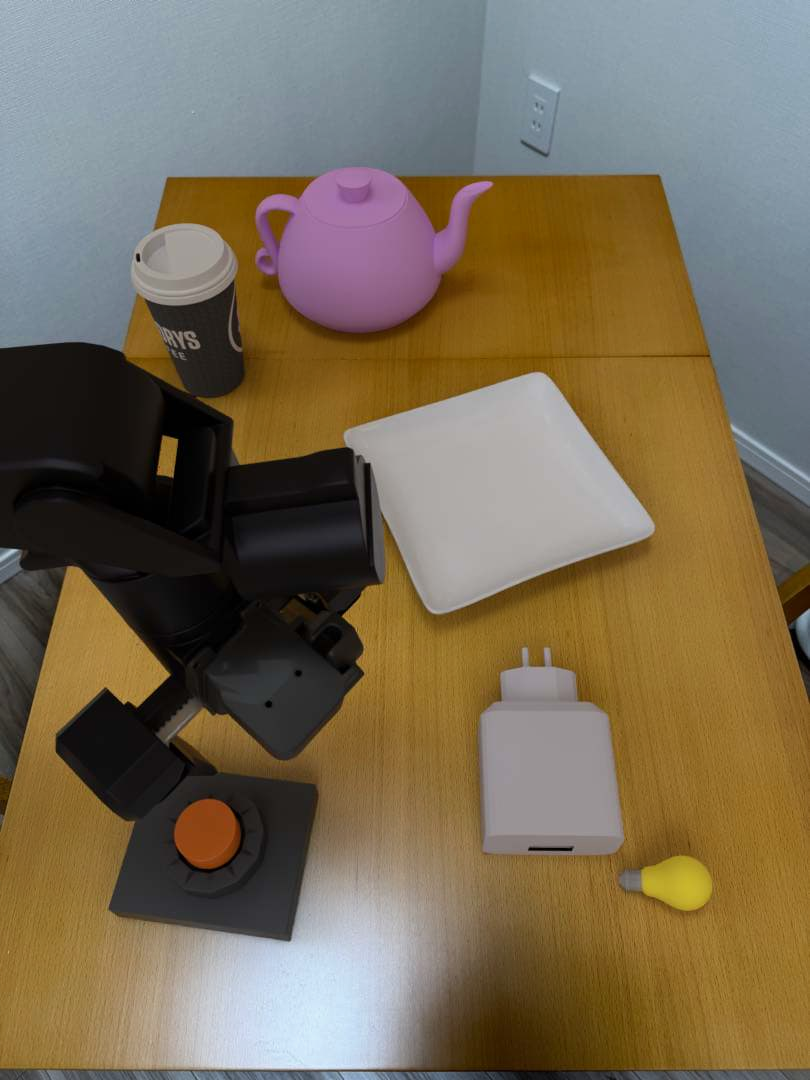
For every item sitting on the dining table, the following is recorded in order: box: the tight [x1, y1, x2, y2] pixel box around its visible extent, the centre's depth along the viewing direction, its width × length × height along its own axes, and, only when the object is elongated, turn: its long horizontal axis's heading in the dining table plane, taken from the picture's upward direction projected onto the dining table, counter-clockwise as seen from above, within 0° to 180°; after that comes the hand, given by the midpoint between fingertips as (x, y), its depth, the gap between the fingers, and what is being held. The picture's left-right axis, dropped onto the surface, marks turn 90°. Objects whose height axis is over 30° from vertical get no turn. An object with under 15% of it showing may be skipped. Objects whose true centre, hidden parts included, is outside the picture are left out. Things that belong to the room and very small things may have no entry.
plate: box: [342, 371, 656, 616], centre depth 76 cm, size 21×21×3 cm
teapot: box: [254, 166, 494, 334], centre depth 89 cm, size 25×18×14 cm
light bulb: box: [618, 854, 714, 912], centre depth 57 cm, size 3×6×4 cm, turn 84°
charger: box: [477, 646, 625, 856], centre depth 62 cm, size 5×9×15 cm
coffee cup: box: [130, 222, 246, 399], centre depth 81 cm, size 10×10×15 cm
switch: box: [174, 799, 241, 869], centre depth 56 cm, size 4×4×2 cm
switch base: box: [107, 771, 320, 942], centre depth 59 cm, size 12×10×4 cm
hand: (265, 712), depth 53 cm, fingers open, 9 cm apart
